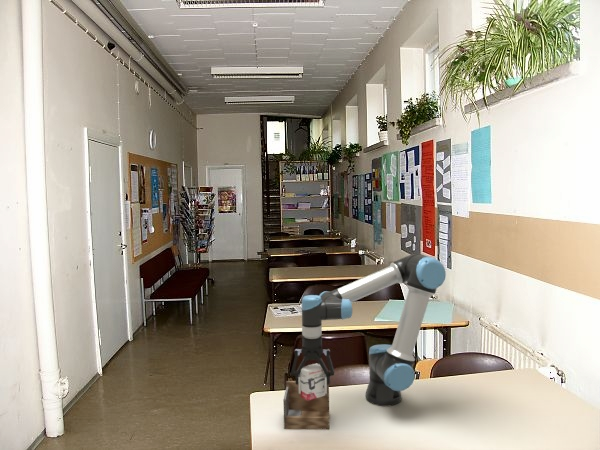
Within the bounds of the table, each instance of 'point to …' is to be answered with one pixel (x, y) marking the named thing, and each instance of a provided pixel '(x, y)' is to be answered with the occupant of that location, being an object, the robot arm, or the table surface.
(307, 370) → the ink box
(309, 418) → the open wooden box
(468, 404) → the table surface
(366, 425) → the table surface
